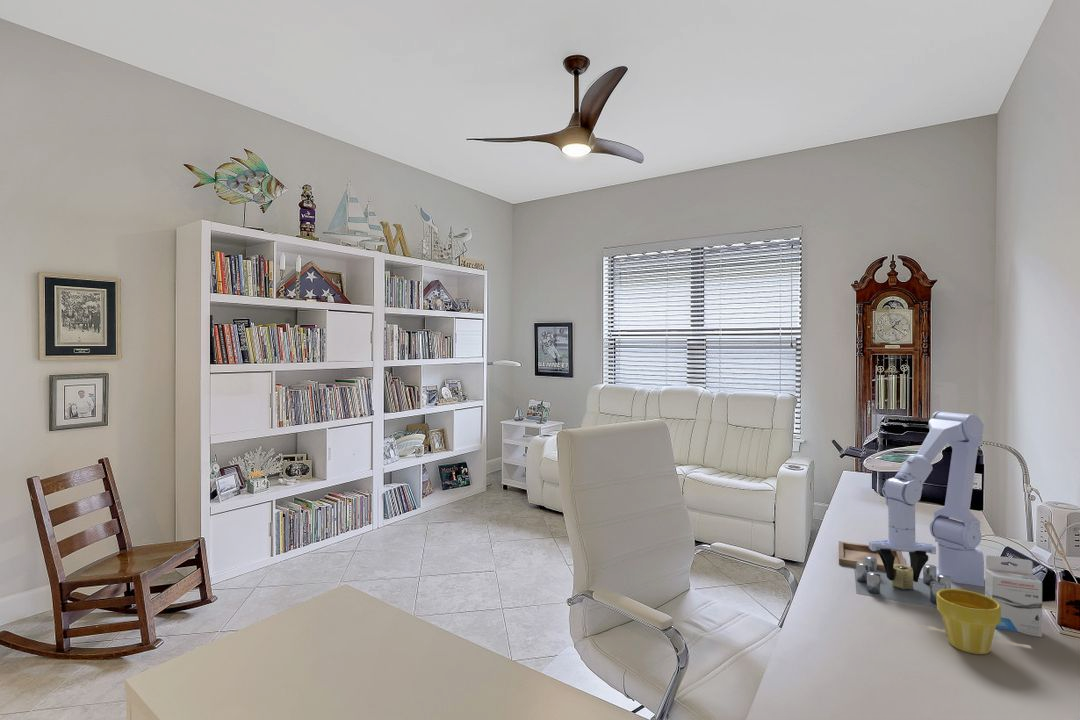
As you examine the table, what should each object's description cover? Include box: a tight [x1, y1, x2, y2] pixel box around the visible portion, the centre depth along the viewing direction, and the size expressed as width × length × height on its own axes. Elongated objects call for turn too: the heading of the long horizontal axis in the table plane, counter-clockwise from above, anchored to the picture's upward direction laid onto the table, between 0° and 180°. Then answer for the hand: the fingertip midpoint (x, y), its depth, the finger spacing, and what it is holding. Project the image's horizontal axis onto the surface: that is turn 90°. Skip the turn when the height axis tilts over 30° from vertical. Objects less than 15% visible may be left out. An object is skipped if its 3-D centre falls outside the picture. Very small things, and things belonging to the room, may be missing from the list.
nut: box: [891, 564, 913, 589], centre depth 137 cm, size 4×5×5 cm
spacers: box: [855, 556, 952, 605], centre depth 137 cm, size 20×15×4 cm
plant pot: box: [936, 588, 1001, 655], centre depth 111 cm, size 10×10×10 cm
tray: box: [838, 540, 907, 573], centre depth 156 cm, size 16×16×2 cm
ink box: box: [984, 554, 1043, 638], centre depth 117 cm, size 9×5×15 cm, turn 65°
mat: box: [853, 567, 937, 609], centre depth 137 cm, size 21×18×1 cm
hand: (902, 579), depth 137 cm, fingers closed on nut, 5 cm apart
